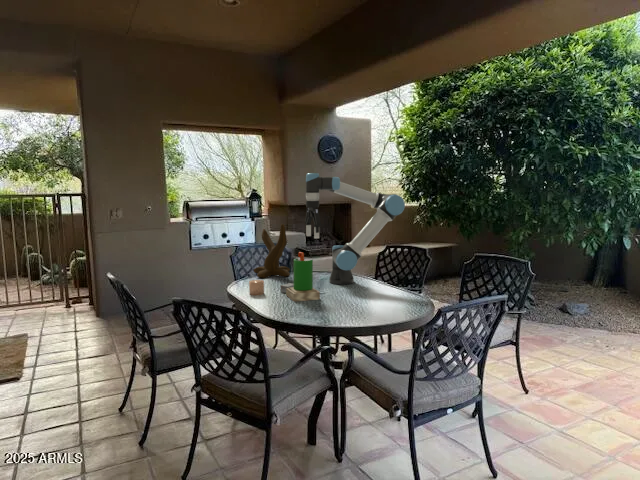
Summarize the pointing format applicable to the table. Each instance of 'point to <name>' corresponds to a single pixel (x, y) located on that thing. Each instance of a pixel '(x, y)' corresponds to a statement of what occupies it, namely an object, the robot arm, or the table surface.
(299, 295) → the plinth
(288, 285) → the grey stone block
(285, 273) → the wooden stand
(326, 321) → the table surface
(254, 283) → the tan rounded cylinder
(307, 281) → the motor
